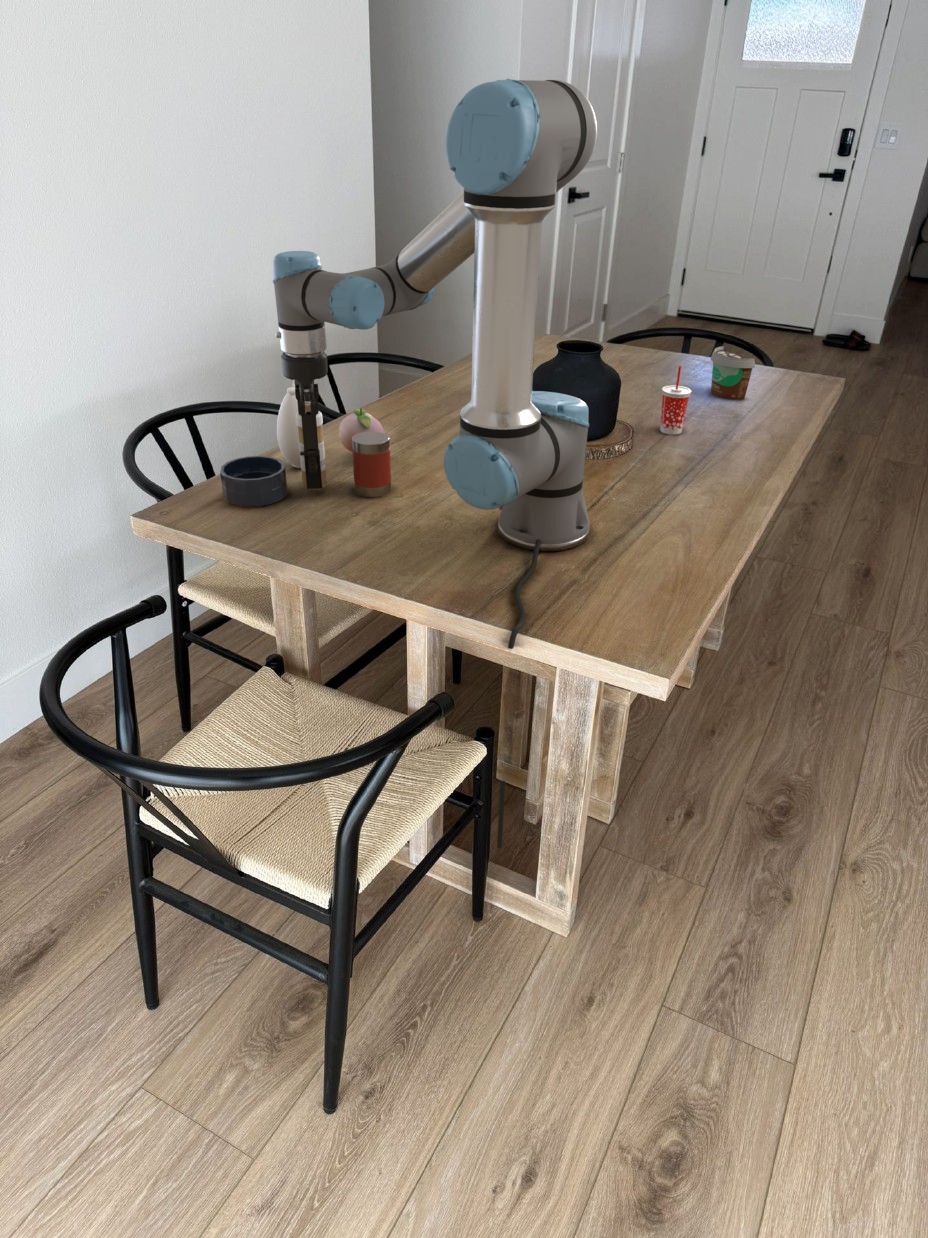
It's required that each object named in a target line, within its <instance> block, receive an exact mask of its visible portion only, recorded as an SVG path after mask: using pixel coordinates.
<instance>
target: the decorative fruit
mask: <svg viewBox="0 0 928 1238" xmlns="http://www.w3.org/2000/svg"><path fill="white" fill-rule="evenodd" d="M352 412H353V413H351V414H348V415H346V417H345V418H343V419H342V421H341V423H340V424H339V429H338V436H339V437H338V438H339V440H340V443H341V444H342V446H343V447H344V449H346V450H348V452H351V453H353V452H352V447H353V446H352V437H353V436H354V435H356V434H358V433H362V432H371V431H373V432H381V433H385V430H384V427H383V425H382V424H381V423H380V421H379V420H378V419H376V418H375V417H374V416H373V415H371V414H370V413H368V412H367V411H366V410H364V409H363V408H362V407H361V408H355V409H354V410H352Z"/></svg>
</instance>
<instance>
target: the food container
mask: <svg viewBox="0 0 928 1238" xmlns="http://www.w3.org/2000/svg"><path fill="white" fill-rule="evenodd" d="M755 360H756V358H755V357H752V358H745V357H744V356H742V355H740V354H738V353H733V352H729V351H726V350H724V345H723V346H717V347H715V348H714V350H713V352H712V354H711V356H710V361H711V362H712V371H711V372H712V373H711V385H710V386H711V387H710V394H711V395H712V396H714V397H716V398H719V399H722V400H730V401H744V400H745V398H746V395H747V391H748V388H749V383H750V379H751V376H752V372H753V369H755V368H756V361H755Z"/></svg>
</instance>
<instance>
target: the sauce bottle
mask: <svg viewBox="0 0 928 1238" xmlns="http://www.w3.org/2000/svg"><path fill="white" fill-rule="evenodd" d="M297 413H298V403H297V399H296V397H295V380H291V386H290V387H288V388H286V394H285V395H284V397H283V399H282V401H281V403H280V407H279V410H278V415H277V419H276V439H277V445H278V449H279V450H280V453H281V456H282V457H283V458H284V461H286V462H287V463H288V464H290V465H291V466H292V467H294V468H297V469H301V463H300V452H299V436H298V427H297V424H296V414H297Z"/></svg>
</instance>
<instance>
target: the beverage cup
mask: <svg viewBox="0 0 928 1238" xmlns="http://www.w3.org/2000/svg"><path fill="white" fill-rule="evenodd" d="M681 371H682V365H678V370H677V377H676V384H674V385H665V386H663V387H662V388H661V394H662V401H661V413H660V414H661V415H660V429H659V432H661V433H662V434H665V435H680V434H681V433H682V432H683V427H684V423H685V418H686V413H687V408H688V404H689V399H690V396H691V394H692V390H691V389H690V388H689V387H686V386H683V385H682V386H681V385H680V377H681Z"/></svg>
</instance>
